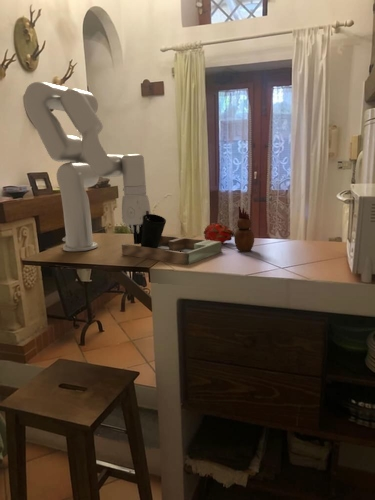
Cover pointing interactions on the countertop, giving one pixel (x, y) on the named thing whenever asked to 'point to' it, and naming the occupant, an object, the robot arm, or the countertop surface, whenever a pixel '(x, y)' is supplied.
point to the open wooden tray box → (175, 250)
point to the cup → (152, 230)
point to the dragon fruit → (218, 233)
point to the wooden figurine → (244, 233)
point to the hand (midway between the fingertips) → (138, 243)
